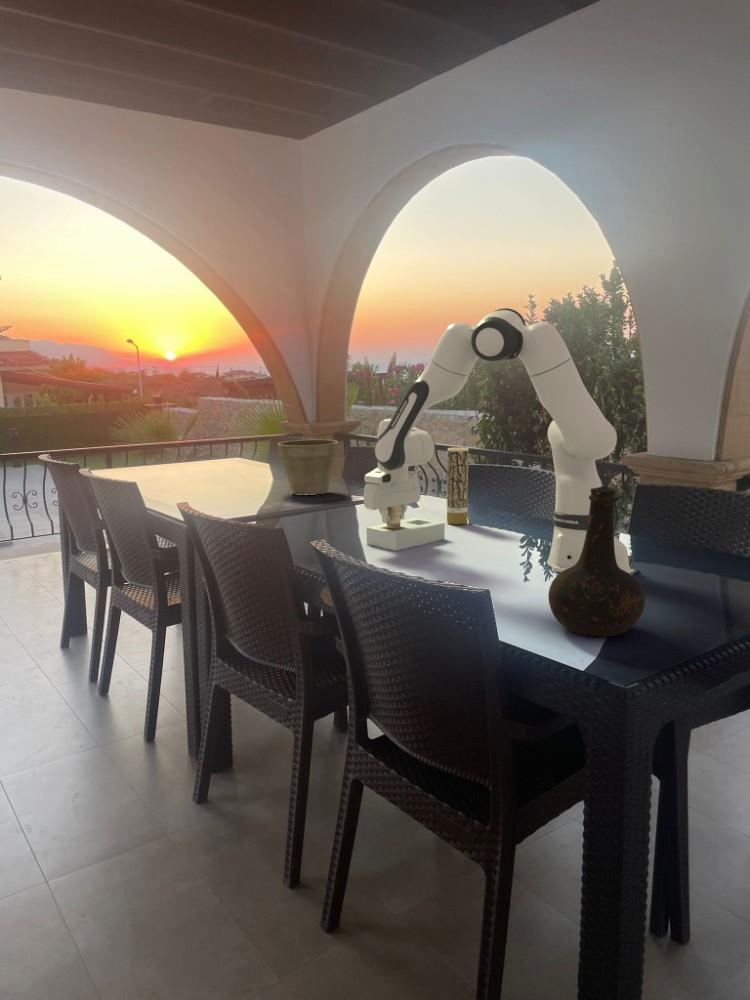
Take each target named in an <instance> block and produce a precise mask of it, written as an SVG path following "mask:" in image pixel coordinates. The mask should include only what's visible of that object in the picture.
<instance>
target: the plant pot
mask: <svg viewBox="0 0 750 1000" xmlns="http://www.w3.org/2000/svg"><path fill="white" fill-rule="evenodd" d="M277 449H278V450H277V451H278V456H280V457H281V461H282V464H283V468H284V470H285V471H284V472H285V474H286V477H287V480H288V484H289V486H290V490H291V492H292V494H293V493H294V494H308V495H310V494H323V493H326V494H327V493H328V491H329V488H330V482H331V478H332V474H333V469H334V466H335V460H336V455H337V454H338V453H339V441H338V440H336V439H335V440H334V439H299V440H298V439H297V440H289V441H288V440H286V441H281V442H278V443H277ZM294 494H293V495H294ZM323 495H324V494H323Z"/></svg>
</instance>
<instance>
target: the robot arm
mask: <svg viewBox="0 0 750 1000" xmlns="http://www.w3.org/2000/svg"><path fill="white" fill-rule="evenodd" d="M479 358H480V359H481V360H484V361H487V362H500V361H506V360H507V361H508V360H509V361H510V360H515V359H516V358H519V359H520V361H521V362H522V364H523V365H524V367H525V370H526V372H527V374H528V377H529V379H530V382H531V383H532V386H533V388H534V390H535V393H536V395H537V398H538V399H539V401H540V404H541V405H542V406H543V408H544V409H545V410H546V411H547V413H548V414H549V415H550V417H551V418H552V421H551V422H550V424H549V426H548V429H547V439H548V442H549V443H550V447H551V453H552V462H553V467H554V474H555V509H554V510H553V517H552V528H553V533H552V534H553V535H552V540H551V541H552V543H551V546H550V552H549V555H548V558H547V561H546V564H547V566H549V567H550V568H551V569H552V571H553V572H557V573H561V572H562V571H564V570H566V569H568V568H570V567H572V566H574V565H575V564H576V563H577V562H578V560H579V558H580V555H581V553H582V549H583V546H584V541H585V537H586V531H587V526H588V519H589V510H590V499H589V496H590V495H591V488H598V487H602V481H601V479H600V476H599V474H598V470H597V465H596V461H597V460H601V459H604V458H606V457H608V456H610V454H612V452H613V451H614V450H615V448H616V446H617V441H618V435H617V434H618V433H617V431H616V429H615V428H614V426H613V425H612V424H611V423H610V421H608V420H607V418H606V417H605V416H604V414H603V413H602V411H601V409H600V408H599V406H598V405H597V403H596V402H595V400H594V398H593V397H592V396H591V394H590V393H589V391H588V390H587V388H586V387H585V384H584V382H583V379H581V375H580V373H579V371H578V368H577V367H576V365H575V362H574V360H573V357H572V355H571V352H570V351H569V349H568V346H567V344H566V342H565V341H564V339H563V338H562V336H561V335H560V333H559V331H558V330H557V328H556V327H555V326H554V325H553V324H552V323H549V322H548V321H547V322H546V321H540V322H539V321H538V322H535V323H533V324H532V323H531V325H526V321H525V319H524V317H523V316H522V314H521V313H520V312H518V311H517V310H516V309H515V310H514V309H512V308H507V307H506V308H505V307H504V308H499V309H497V310H494V311H493V312H490V313H488V314H487V315H485V316H483V318H481V320H480V321H478V322H477V323H476V324H475V325H470V324H468V323H465V322H454V323H450V324H449V325H448V326H447V327H446V329H445V331H444V332H443V333H442V335H441V336H440V338H439V340H438V342H437V344H436V345H435V348H434V350H433V351H432V354H431V356H430V358H429V360H428V362H427V364H426V365H425V368H424V370H423V371H422V373H421V374H420V375H419V377H418V378H417V379H416V380H415V381H414V382H413V383H412V384H411V385H410V386H409V388H408V389H407V391H406V393H405V394H404V395H403V397H402V400H401V402H400V403H399V404H398V407H397V408H396V410H395V411H394V414H393V416H392V417H389V418H385V419H382V420H381V421H380V422H379V424H378V425H379V426H378V429H377V438H376V441H375V444H374V450H373V452H374V457H375V459H376V461H377V467H376V468H374V469H373V470H371V471H370V472H367V473H366V474H364V482H365V485H364V488H363V489H364V490H363V505H364V507H365V509H366V510H369V511H370V510H371V511H376V510H378V512H379V514H380V516H381V522H382V524H386V523H388V522H390V516H387V508H388V507H393V506H398V505H400V520H405V513H406V512H407V508H408V505H409V504H413V503H419V501H420V500H421V487H420V481H419V475H418V474H417V472H415V471H414V470H411V471H409V467H415V466H419V465H425V464H427V463H429V462H431V461H432V460H433V458H434V456H435V453H436V441H435V439H434V437H433V436H432V435H431V434H430V433H429V431H427V430H426V431H425V430H422V429H419V428H418V427H416V426H415V425H417V421H418V420H419V418H420V417H421V415H422V414H423V413H424V412H425V411H427V410H428V409H429V408H431V407H433V406H434V405H436V404H439V403H441V402H444V401H446V400H449V399H451V398H453V397H455V396H457V395H459V393H460V392H461V390H462V389H463V388H464V386H465V385H466V384H467V381H468V379H469V377H470V374H471V373H472V370H473V368H474V366H475V364H476V362H477V360H478V359H479ZM614 549H615V557H616V562H617V565H618V567H619V568H620V569H622V570H624V571H626V572H628V573H631V572H633V571H634V569H631V568H630V566H629V564H630V561H629V560H630V559H629V553H628V548H627V546H626V545H625V544H624V543H623V542H622V541H621V540H619V538H618V537H616V536H615V535H614Z"/></svg>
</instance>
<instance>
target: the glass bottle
mask: <svg viewBox="0 0 750 1000" xmlns="http://www.w3.org/2000/svg"><path fill="white" fill-rule="evenodd" d="M615 495H616V489H615V488H612V487H608V486H601V487H598V488H591V495H590V496H589V499H590V510H589V519H588V526H587V531H586V537H585V541H584V546H583V549H582V553H581V555H580V558H579V560H578V562H577V563H576V564H575V565H574V566H572V567H570V568H568V569H566V570H564V571H562V572H559V573H558V574H557V575H556V576H555V577H554V579H553V580H552V582H551V584H550V586H549V589H548V595H547V596H548V604H549V607H550V611H551V613H552V614H553V616H554V618H555V619H556V621H557V622H558V623H559V624H560V625H561V626H562V627H564V628H565V629H567V630H569V631H571V632H574V633H576V634H580V635H582V634H583V635H584V636H587V635H589V636H588V637H595V636H597V637H598V638H604V637H605V638H607V637H608V636H610V637H615V635H616V636H618V635H619V636H620V635H622V634H623V633H625V632H627V631H628V630H630V628H633V626H634V625H635V624H636V623H637V622H638V621H639V619H640V618H641V616H642V614H643V612H644V609H645V606H646V593H645V591H644V590H645V589H643V586H642V585H641V583H640V581H639V580H638V579H637V578H636V577H635V576H634V575H631V574H629V573H628V572H626V571H624V570H622V569H620V568H619V567H618V565H617V562H616V557H615V549H614V536H615V525H614V524H615V523H614V522H615V521H614V520H615V514H614V513H615V502H618V501H620V498H619V497H617V496H615Z"/></svg>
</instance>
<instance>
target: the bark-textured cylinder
mask: <svg viewBox="0 0 750 1000" xmlns="http://www.w3.org/2000/svg"><path fill="white" fill-rule="evenodd" d="M446 458H447V461H446V462H447V465H446V466H447V469H446V473H447V476H446V477H447V478H446V479H447V480H446V484H447V485H446V522H447V524H448V525H451V526H462V525H466V524H467V523H468V510H469V509H468V508H469V507H468V503H469V502H468V501H469V447H448V448H447V457H446Z"/></svg>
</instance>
